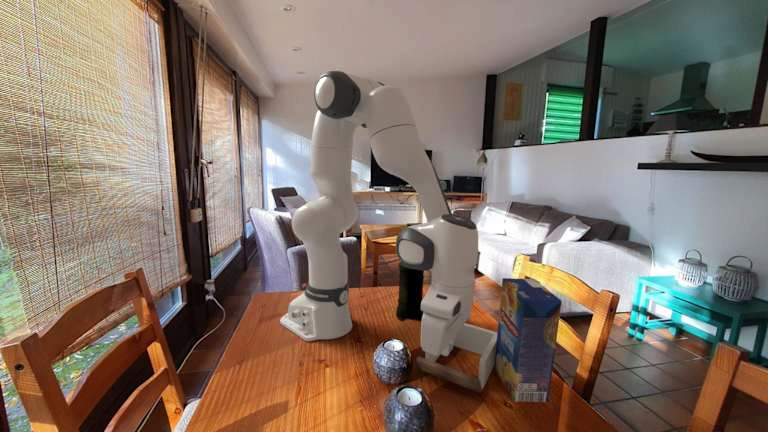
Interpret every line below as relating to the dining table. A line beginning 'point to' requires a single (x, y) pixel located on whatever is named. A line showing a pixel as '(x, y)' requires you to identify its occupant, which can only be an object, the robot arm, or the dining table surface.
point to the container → (410, 293)
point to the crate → (476, 348)
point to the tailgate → (450, 374)
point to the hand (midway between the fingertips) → (446, 352)
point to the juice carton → (526, 339)
